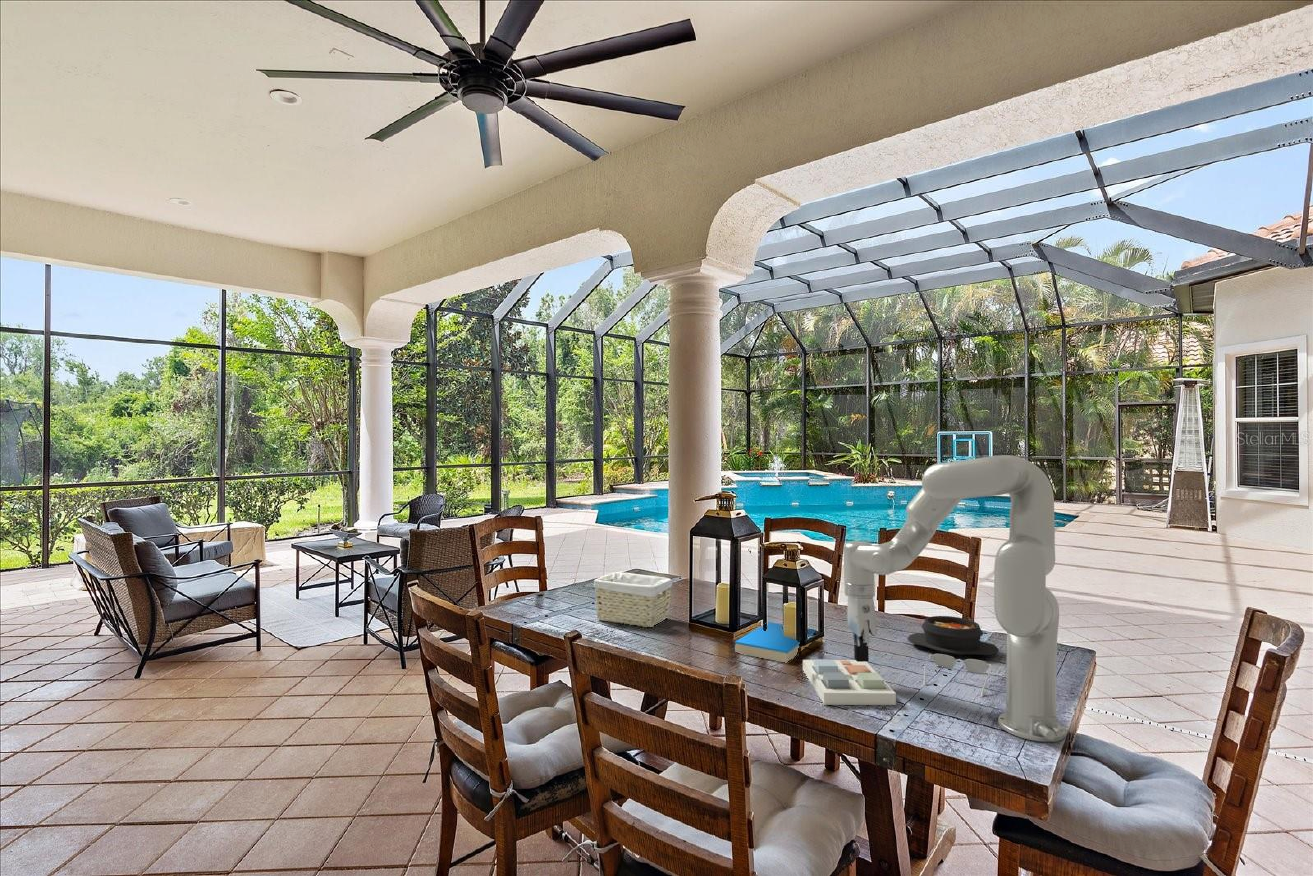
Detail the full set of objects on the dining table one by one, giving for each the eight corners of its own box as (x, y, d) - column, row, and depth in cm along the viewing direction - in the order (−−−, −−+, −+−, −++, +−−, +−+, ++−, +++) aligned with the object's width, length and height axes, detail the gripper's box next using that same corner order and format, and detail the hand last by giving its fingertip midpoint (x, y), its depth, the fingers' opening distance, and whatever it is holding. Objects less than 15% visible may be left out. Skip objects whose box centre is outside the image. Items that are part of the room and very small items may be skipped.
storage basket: (673, 619, 227) (674, 577, 227) (653, 631, 212) (653, 586, 212) (615, 610, 237) (615, 570, 237) (591, 621, 223) (591, 579, 223)
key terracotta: (871, 681, 165) (871, 671, 165) (851, 681, 165) (851, 671, 165) (865, 674, 170) (865, 665, 170) (846, 674, 170) (846, 665, 170)
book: (817, 629, 202) (788, 650, 181) (817, 643, 202) (788, 665, 181) (766, 621, 211) (733, 640, 190) (765, 634, 211) (733, 654, 190)
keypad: (895, 706, 152) (895, 692, 152) (823, 705, 152) (823, 691, 152) (865, 671, 175) (865, 659, 175) (802, 670, 175) (802, 658, 175)
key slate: (848, 690, 155) (848, 679, 155) (828, 690, 155) (828, 679, 155) (843, 682, 160) (843, 672, 160) (822, 682, 160) (822, 672, 160)
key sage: (884, 690, 155) (884, 680, 155) (863, 690, 155) (863, 680, 155) (877, 682, 160) (877, 672, 160) (857, 682, 160) (857, 672, 160)
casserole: (1000, 648, 195) (1000, 621, 195) (996, 666, 179) (996, 636, 179) (913, 635, 208) (913, 609, 208) (902, 651, 192) (902, 623, 192)
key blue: (838, 675, 165) (838, 666, 165) (818, 675, 165) (818, 666, 165) (832, 669, 170) (832, 659, 170) (813, 668, 170) (814, 659, 170)
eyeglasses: (991, 676, 173) (991, 662, 173) (987, 700, 157) (986, 683, 157) (929, 666, 181) (929, 652, 181) (919, 687, 165) (919, 672, 165)
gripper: (883, 595, 160) (886, 670, 159) (865, 583, 175) (866, 651, 174) (853, 596, 160) (855, 670, 159) (837, 584, 175) (839, 652, 174)
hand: (861, 660), depth 167 cm, fingers closed
